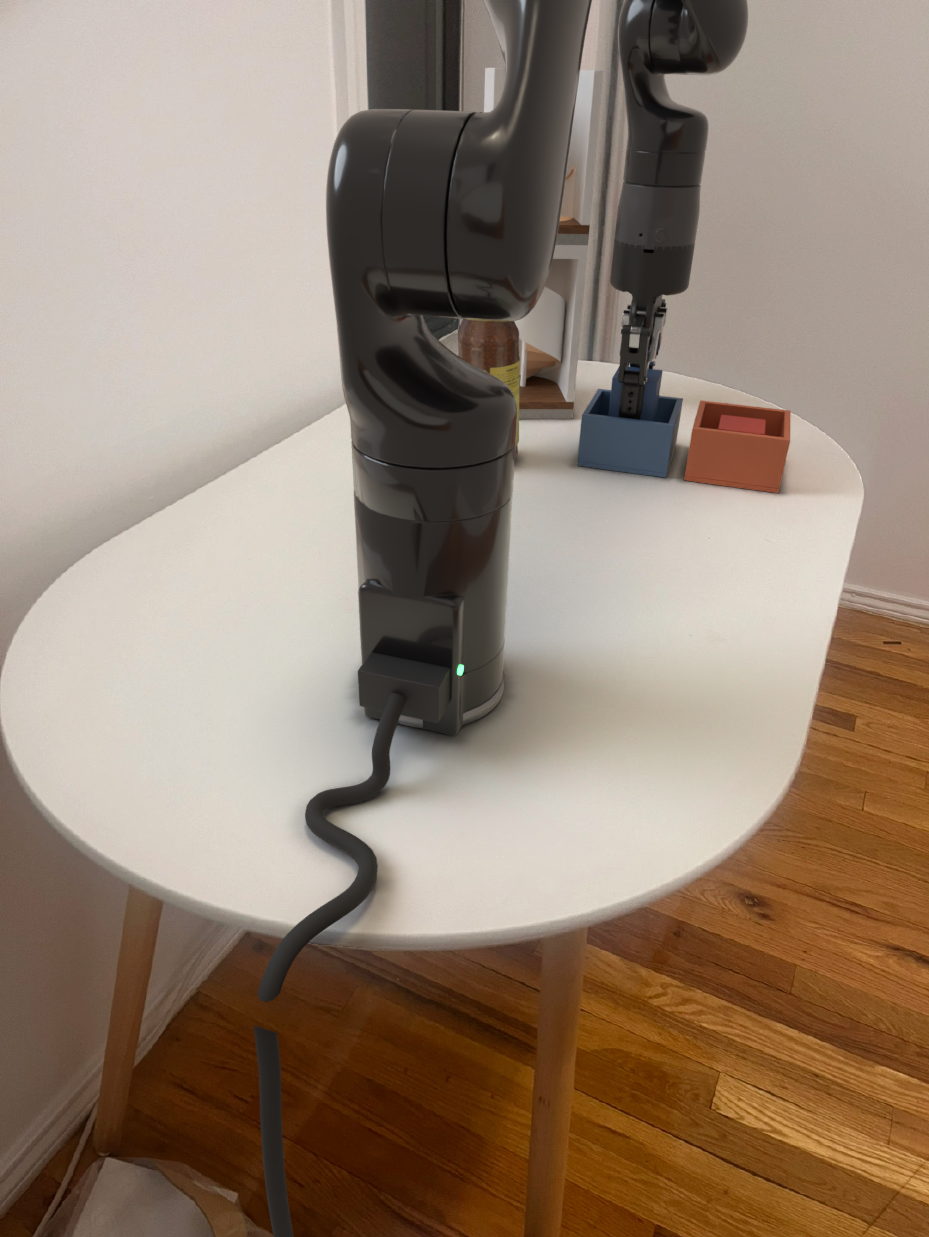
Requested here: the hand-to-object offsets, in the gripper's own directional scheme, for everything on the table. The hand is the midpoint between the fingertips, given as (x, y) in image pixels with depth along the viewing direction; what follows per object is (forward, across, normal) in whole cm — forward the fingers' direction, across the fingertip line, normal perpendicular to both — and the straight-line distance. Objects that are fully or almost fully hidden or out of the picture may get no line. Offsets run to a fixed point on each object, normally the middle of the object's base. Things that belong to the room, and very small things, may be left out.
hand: (632, 411), depth 92 cm
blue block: (+1, 0, 0) cm, 1 cm away
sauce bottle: (+5, +6, -14) cm, 16 cm away
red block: (+4, 0, +11) cm, 12 cm away
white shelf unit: (+5, -13, -15) cm, 20 cm away
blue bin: (+5, 0, 0) cm, 5 cm away
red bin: (+5, 0, +11) cm, 12 cm away
